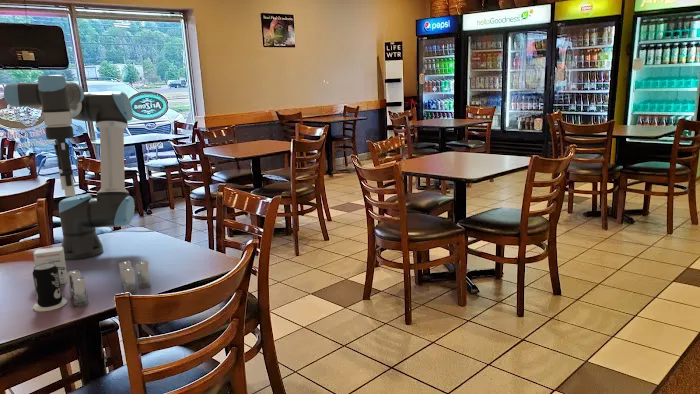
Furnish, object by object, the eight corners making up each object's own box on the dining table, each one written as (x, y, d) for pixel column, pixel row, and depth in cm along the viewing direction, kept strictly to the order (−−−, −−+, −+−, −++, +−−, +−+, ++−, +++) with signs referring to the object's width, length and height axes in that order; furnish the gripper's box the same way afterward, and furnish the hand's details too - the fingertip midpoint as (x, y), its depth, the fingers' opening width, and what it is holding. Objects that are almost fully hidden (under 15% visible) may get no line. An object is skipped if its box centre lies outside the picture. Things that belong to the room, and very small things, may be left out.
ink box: (37, 287, 170) (32, 253, 168) (39, 282, 175) (34, 249, 172) (66, 283, 174) (61, 250, 171) (68, 278, 178) (63, 246, 176)
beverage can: (51, 308, 152) (45, 270, 150) (32, 307, 154) (26, 269, 151) (67, 299, 158) (62, 262, 156) (49, 298, 160) (43, 261, 157)
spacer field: (70, 295, 163) (66, 271, 161) (146, 279, 175) (144, 257, 173) (73, 308, 153) (70, 282, 152) (154, 290, 165) (151, 266, 164)
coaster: (32, 304, 157) (32, 302, 157) (65, 296, 162) (65, 295, 162) (33, 314, 150) (33, 312, 150) (68, 306, 155) (68, 305, 154)
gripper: (42, 124, 169) (52, 188, 173) (47, 129, 148) (58, 200, 153) (68, 123, 173) (77, 185, 177) (76, 127, 152) (86, 197, 157)
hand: (68, 192), depth 165 cm, fingers open, 13 cm apart
